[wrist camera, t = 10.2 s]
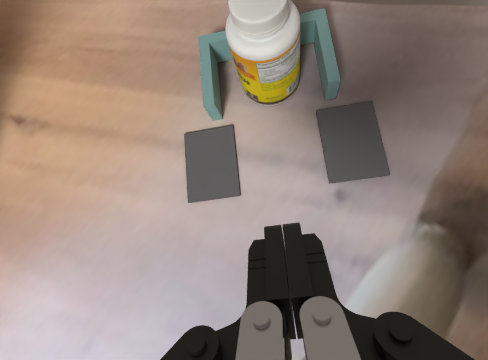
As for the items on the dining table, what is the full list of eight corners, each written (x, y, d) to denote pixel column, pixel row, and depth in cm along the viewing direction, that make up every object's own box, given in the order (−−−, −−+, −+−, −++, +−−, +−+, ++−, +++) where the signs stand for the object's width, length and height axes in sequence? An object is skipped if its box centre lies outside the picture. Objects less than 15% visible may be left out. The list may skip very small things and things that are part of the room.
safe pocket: (212, 120, 28) (203, 106, 26) (207, 56, 30) (198, 36, 27) (335, 98, 27) (340, 80, 24) (321, 31, 29) (324, 7, 26)
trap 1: (329, 183, 25) (329, 182, 25) (316, 111, 27) (316, 110, 27) (389, 175, 24) (389, 174, 24) (371, 101, 26) (371, 100, 26)
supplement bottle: (239, 67, 29) (210, -24, 20) (292, 52, 29) (290, -50, 19) (248, 115, 28) (223, 43, 18) (305, 101, 27) (310, 18, 17)
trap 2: (188, 202, 27) (187, 202, 27) (184, 134, 29) (184, 133, 28) (240, 195, 26) (240, 195, 26) (233, 126, 28) (232, 125, 28)
